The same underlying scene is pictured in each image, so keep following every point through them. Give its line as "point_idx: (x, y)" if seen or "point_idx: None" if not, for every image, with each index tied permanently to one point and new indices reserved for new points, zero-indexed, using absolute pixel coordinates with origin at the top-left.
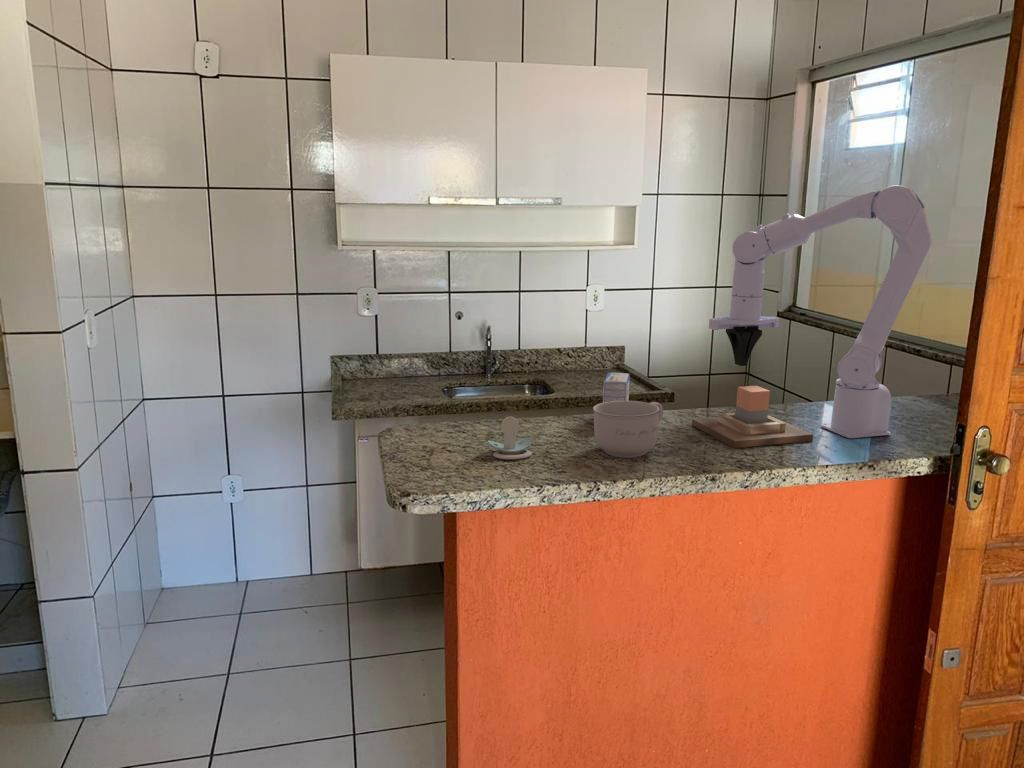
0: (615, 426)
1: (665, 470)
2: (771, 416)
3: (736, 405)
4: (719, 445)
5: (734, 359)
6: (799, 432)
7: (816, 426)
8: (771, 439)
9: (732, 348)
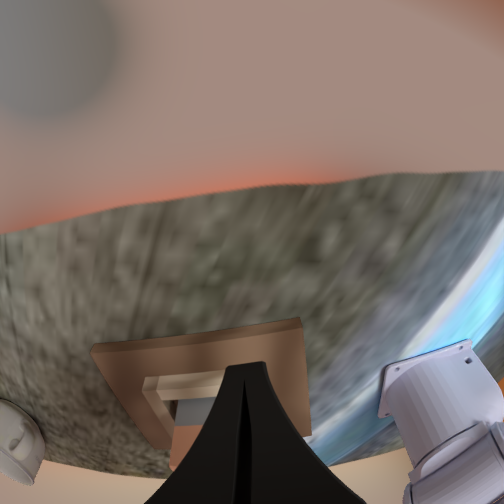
0: (2, 460)
1: (67, 458)
2: (302, 352)
3: (174, 427)
4: (134, 429)
5: (222, 381)
6: None
7: (384, 359)
8: None
9: (200, 432)
